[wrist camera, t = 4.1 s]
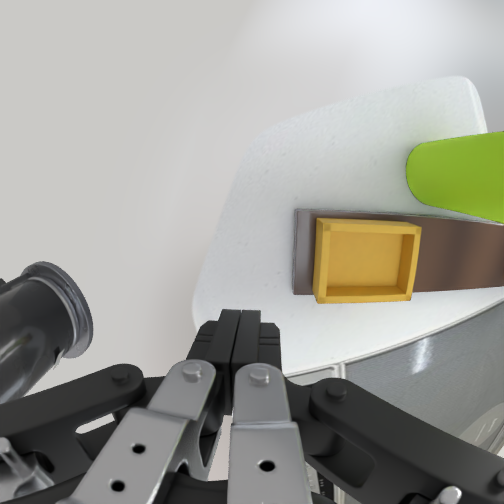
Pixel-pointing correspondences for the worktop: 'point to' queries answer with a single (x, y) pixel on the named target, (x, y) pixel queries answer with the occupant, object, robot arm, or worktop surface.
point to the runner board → (430, 250)
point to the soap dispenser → (460, 174)
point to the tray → (364, 260)
